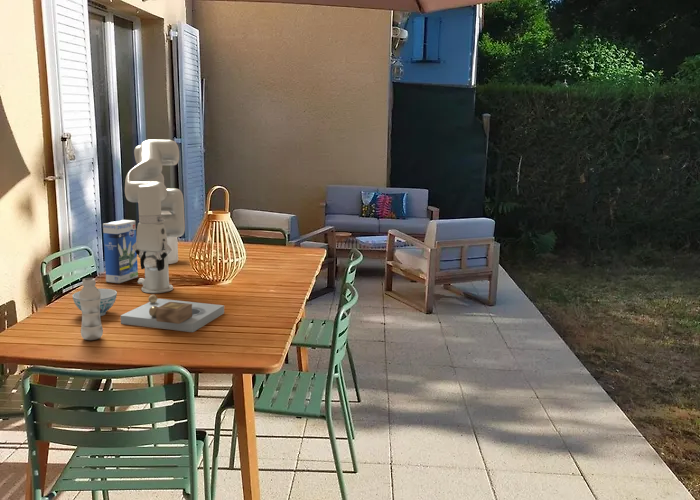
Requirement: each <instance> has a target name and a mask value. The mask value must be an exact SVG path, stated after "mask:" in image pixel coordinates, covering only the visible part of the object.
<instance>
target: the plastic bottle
mask: <svg viewBox="0 0 700 500" xmlns="http://www.w3.org/2000/svg"><path fill="white" fill-rule="evenodd" d="M96 284H97V283H96V278H94V277H87V278H83V279H82V289H81V290H80V291H81V292H80V294H79V299H80V305H81V310H80V312H81V326H80V336H81V337H82V339H83V340H84V341H95V340H99V339H101V338H102V337H103V333H104V330H103V329H104V328H103V324H102V320H101V316H100V301H101V293H100V291H99V290H98V289H99V288H97V286H96Z"/></svg>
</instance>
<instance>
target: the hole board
mask: <svg viewBox="0 0 700 500" xmlns="http://www.w3.org/2000/svg"><path fill="white" fill-rule="evenodd" d="M168 302H178V303H187V304H192V317H190V318H189V319H187V320H185V321H183V322H182V323H180V324H176V323H168V322H159V321H157V320H156V317H152V316H150V314H149V309H150V308H151V307H153V306H157V307H160V306H162V305H164V304H166V303H168ZM224 314H225V305H222V304H215V303H204V302H195V301H184V300H176V299H175V300H174V299H166V298H158V297H157V301H156V302H155V303H150V302H149V301H147V303H145V304H142V305H140V306H138V307H135V308H133V309H132V310H129V311H127V312H125V313H122V314H121V315H120V324H121V325H128V326H129V325H130V326H135V327H136V326H137V327H143V328H144V327H146V328H155V329H163V330H170V331H171V330H172V331H178V332H179V331H180V332H188V333H194V332H196V331H197V330H200V329H201V328H202V327H204V326H206V325H207V324H209V323H211V322H212V321H214V320H216V319H217V318H219V317H220V316H222V315H224Z"/></svg>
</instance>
